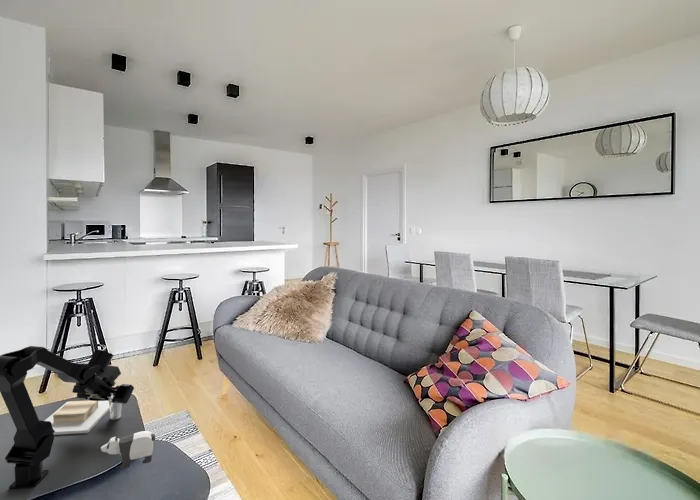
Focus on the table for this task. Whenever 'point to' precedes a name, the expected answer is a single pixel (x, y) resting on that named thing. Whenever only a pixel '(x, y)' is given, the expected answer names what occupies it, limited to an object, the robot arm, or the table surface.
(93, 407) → the plinth
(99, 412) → the baseplate
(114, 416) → the milkshake
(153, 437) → the giant panda
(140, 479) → the table surface
